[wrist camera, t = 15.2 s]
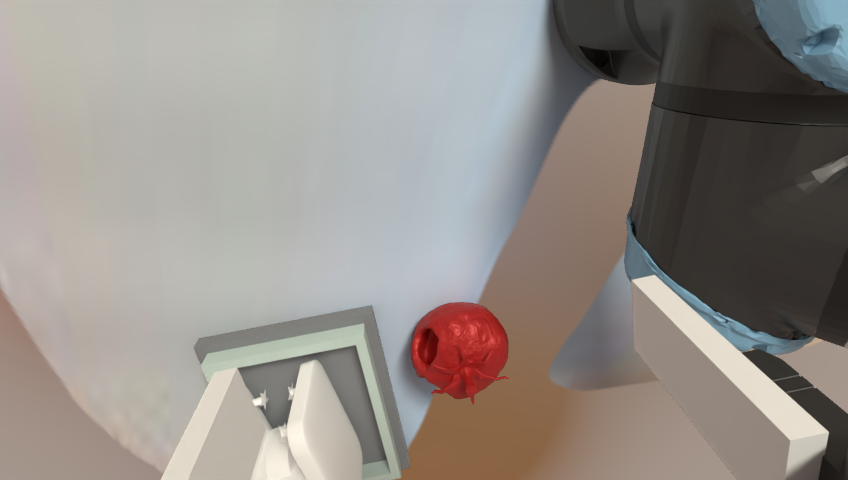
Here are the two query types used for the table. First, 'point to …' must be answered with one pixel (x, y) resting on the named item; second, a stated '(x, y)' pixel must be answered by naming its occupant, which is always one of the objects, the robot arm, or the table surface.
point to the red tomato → (459, 349)
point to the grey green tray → (344, 365)
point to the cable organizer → (309, 434)
